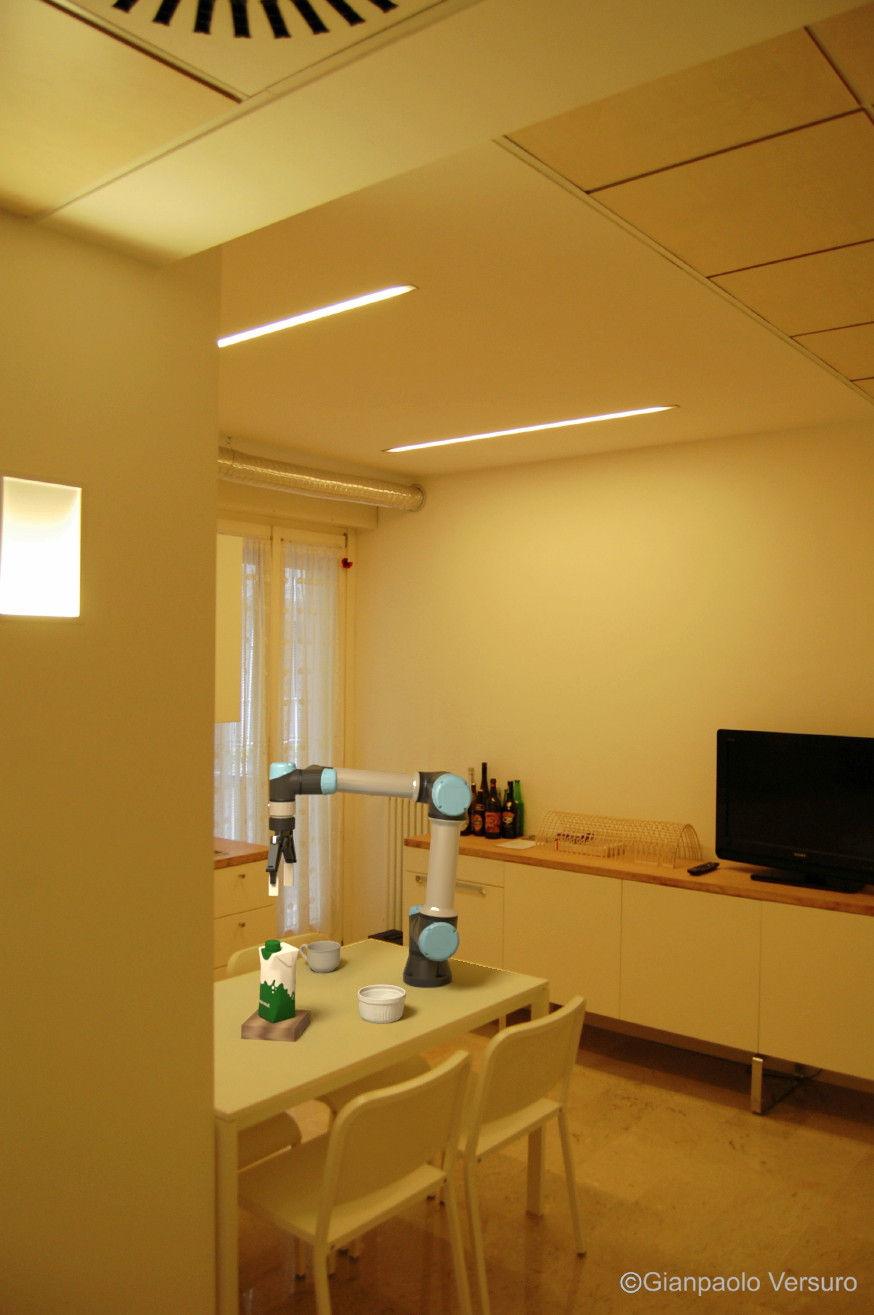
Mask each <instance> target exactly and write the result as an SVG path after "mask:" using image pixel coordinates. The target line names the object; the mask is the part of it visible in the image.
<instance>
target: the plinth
mask: <svg viewBox="0 0 874 1315" xmlns="http://www.w3.org/2000/svg"><path fill="white" fill-rule="evenodd" d="M310 1015H311V1010H309V1009H295V1017H293V1018H289V1019H286V1020H283V1021H279V1022H276V1023H271V1022H269V1021H268V1020H266V1019H264V1018H262V1017H261V1016H259V1015H258V1009H256V1011H255V1012H253V1013H252V1014H251V1016H249V1017H248V1018H247V1019H246V1020H245V1021H244V1022H243V1023H242V1024H241V1025H240V1026H241V1027H240V1028H241V1030H240V1032H241V1033H240V1034H241V1036H240V1038H241V1040H254V1041H255V1040H256V1041H271V1042H273V1041H274V1042H290V1043H295V1042H296V1040H297V1039H298V1038H299V1037H300V1036H301V1034H303V1032H304V1031H305V1030H306V1028H307V1027H308V1026H309V1025H310V1023H311V1022H310V1021H311V1020H310V1019H311V1018H310V1017H311V1016H310Z"/></svg>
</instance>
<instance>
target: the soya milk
mask: <svg viewBox="0 0 874 1315" xmlns="http://www.w3.org/2000/svg"><path fill="white" fill-rule="evenodd" d="M258 953H259V962H260V973H259V974H260V977H259V980H260V981H259V998H258V999H259V1002H258V1008H257V1010H258V1015H259V1016H261V1017H262V1018H264V1019H266V1020H268V1021H269V1022H271V1023H276V1022H279V1021H283V1020H286V1019H289V1018H293V1017H295V1010H296V984H297V982H296V981H297V980H296V979H297V977H296V976H297V962H298V957H299V954H300V952H299V948H297V947H296V946H293V945H291V944H289V943H286V942H284V941H282V942H281V941H280V940H278V939H267V940H265V941H264V946H263V945H262V946H259V947H258Z"/></svg>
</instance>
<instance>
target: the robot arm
mask: <svg viewBox="0 0 874 1315" xmlns="http://www.w3.org/2000/svg"><path fill="white" fill-rule="evenodd" d="M268 790H269V791H268V793H269V794H268V797H269V799H268V800H269V801H268V802H269V803H268V804H267V807H268V810H269V811H268V815H270V817H268V830H270V831H272V832H274V835H270V839H269V848H268V855H267V862H266V868H265V873H268V897H269V896H272V897H275V896H276V897H279V895H280V894H279V893H280V872H279V867H280V864H281V863H280V862H281V859H282V855H283V859H284V863H283V886H284V887H294V881H295V880H294V869H295V868H294V867H295V866H294V865H295V864H297V862H298V859H297V854H296V847H295V839H294V830H295V829H296V817H295V815H296V814H297V813H296V804H297V802H296V796H311V795H312V796H313V795H315V796H317V795H319V796H329V795H335V794H336V793H341V794H342V793H343V794H352V795H366V796H375V797H387V798H396V799H397V798H399V799H410V800H411V801H412V802H413V803H419V804H424V805H428V809H427V819H428V820H429V821H430V823H431V835H430V842H429V843H430V844H429V855H428V867H427V877H426V888H425V889H426V890H425V891H426V892H425V898H424V900H425V901H424V904H414V905H411V906H410V907H409V910H408V915H407V916H408V956H407V959H406V962H405V965H404V969H403V972H402V980H403V983H404V984H406V985H409V986H413V987H419V988H437V987H442V986H447V985H449V984H451V983H452V981H453V971H452V969H451V966H450V963H449V959H451V958H452V957H453V956H454V955H456V952H457V951H458V949H459V946H460V935H459V930H458V921H459V912H458V911H457V909H455V906H454V905H455V897H456V896H455V895H456V885H457V884H456V883H457V873H458V865H459V864H458V861H459V850H460V838H461V831H462V830H461V829H462V828H461V827H462V826H463V824H465V823H466V822H467V819H468V818H467V817H468V809H469V808H470V806H471V804H472V800H473V791H472V788H471V786H470V784H469V783H468V781H467V780H466V779H465V778H463V776H461V775H458V774H456V773H452V772H450V771H446V770H445V771H444V770H442V771H418V770H416V771H415V772H414V773H403V772H391V771H382V770H370V769H361V768H359V769H357V768H348V767H337V766H335V767H334V766H324V765H320V764H310V765H308V766H306V767H305V768H297V764H296V762H293V761H276V762H275V761H274V762H272V763H271V764H270V765H269V778H268Z"/></svg>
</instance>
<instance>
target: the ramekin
mask: <svg viewBox="0 0 874 1315" xmlns="http://www.w3.org/2000/svg"><path fill="white" fill-rule="evenodd" d="M406 998H407V992H406V990H405V989H404V988H402V987H400V986H398V985H392V984H391V985H390V984H373V985H372V984H371V985H367V986H364V987H361V988H359V990H358V991H357V999H358V1009H359V1015H360V1017H361V1018H362V1020H364V1021H365V1022H368V1023H371V1024H372V1023H373V1024H378V1025H379V1024H390V1022H391V1023H395V1022H397V1021H399V1020H400V1019H401V1018H402V1016H403V1013H404V1009H405V1008H404V1007H405V999H406ZM394 1021H395V1022H394Z"/></svg>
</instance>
